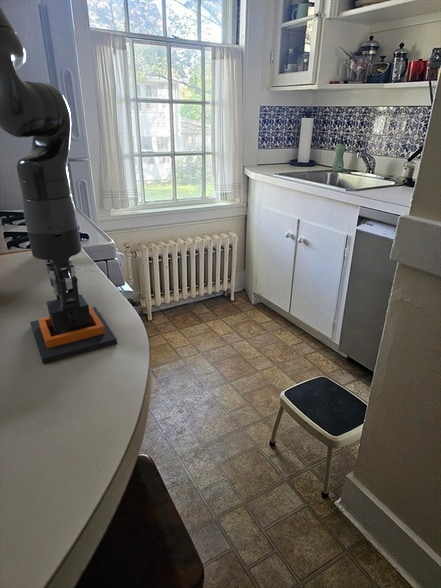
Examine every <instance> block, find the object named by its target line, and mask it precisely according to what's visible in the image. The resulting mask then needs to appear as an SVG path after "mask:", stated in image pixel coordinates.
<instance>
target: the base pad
mask: <svg viewBox="0 0 441 588" xmlns="http://www.w3.org/2000/svg"><path fill="white" fill-rule="evenodd" d="M89 313H90V319H91V323H87V324H83V325H79V326H76V327H71V328H66V329H62V330H58V331H55V330H54V327H53V325H52V323H51V320H50V316H46V317H42V318H38V319H37V320H31V321H30V325H31V326H30V327H31V330H32V332H33V336H34V339H35V343H36V345H37V350H38V352H39V356H40V359H41V362H42V365H45V364H49V363H54V362H57V361H59V360H63V359H67V358H71V357H74V356H78V355H81V354H85V353H88V352H92V351H96V350H99V349H103V348H107V347H111V346H115V345H118V338H117V337H116V336H115V334H114V333H113V331H112V330H111V328H110V326H109V325H108V324H107V322H106V320H105V319H104V318H103V316H102V314H101V313H100V312H99V310H98V308H97V306H94V307H93V306H91V307H90V306H89Z"/></svg>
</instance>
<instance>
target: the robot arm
mask: <svg viewBox="0 0 441 588" xmlns="http://www.w3.org/2000/svg"><path fill="white" fill-rule="evenodd" d="M26 58H27V54H26V50H25V47H24V45H23V43H22V41H21V39H20V37H19V35H18V34H17V32H16V30H15V28H14V27H13V25H12V23H11V21H10V20H9V18H8V16H7V14H6V13H5V11H4V9H3V7H2V6H1V5H0V129H1V130H2V131H3V132H5V133H6V134H8V135H9V136H11V137H14V138H18V139H19V138H20V139H26V138H27V139H28V138H32V141H31V148H30V150H29V152H28V153H26V154H25V155H23V156H21V157H19V158H18V159H17V161H16V166H15V167H16V168H15V169H16V175H17V179H18V184H19V189H20V194H21V198H22V199H21V200H22V209H23V210H22V211H23V217H24V223H25V226H26V231H27V236H28V241H29V245H30V251H31V254H32V256H33V257H34V258H36V259H38V260H41V261H46V260H47V261H46V263H45V268H46V272H47V274H48V278H49V282H50V283H49V284H50V286H51V287H52V288H53V293H54V295H55V296H56V300H57V299H60V301H61V307H62V309H63V313H64V319H65V324H66V327H67V328H71V327H76V326H78V325H79V324H80V321H79V316H78V310H77V307H80V302H79V295H80V294H79V285H78V277H77V276H76V274H77V271H76V267H75V265H74V263H73V264H72V260H71V259H70V260H69V258H70V257H71V258H72V257H73V256H77V255H78V254H79V253H80V252H81V251H82V243H81V236H80V230H79V222H78V215H77V210H76V209H77V208H76V206H75V203H74V199H73V194H72V189H71V181H70V176H69V171H68V170H69V169H68V162H69V156H70V145H71V133H72V116H71V110H70V107H69V105H68V102H67V100H66V98H65V96H64V95H63V93H62V92H61V91H60V90H59V89H58V87H56V86H54V85H53V84H50V83H47V82H42V81H41V82H40V81H27V80H22V79H21V78H20V76H19V74H18V73H17V72H18V71H19V70H20V69H22V68H23V66H24V65H25V62H26ZM68 298H73V300H69V301H66V300H67V299H68Z"/></svg>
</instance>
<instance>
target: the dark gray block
mask: <svg viewBox="0 0 441 588" xmlns="http://www.w3.org/2000/svg"><path fill="white" fill-rule="evenodd" d="M69 300H73V298H68V299H67V300H66V301H69ZM79 302H80V307H77V310H78V316H79V321H80V324H79V325H83V324H87V323H91V319H90V313H89V308H90V306H89V304H88V302H87V301H86V299H85V297H84V296H83V294H79ZM46 306H47V311H48V315H49V316H48V317H50V320H51V323H52V325H53V327H54V330H55V331H58V330H62V329H66V328H67V327H66V324H65V319H64V313H63V309H62V307H61V301H60V299H57V298H56V299H53V300H48V301H46ZM79 325H78V326H79Z"/></svg>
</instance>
